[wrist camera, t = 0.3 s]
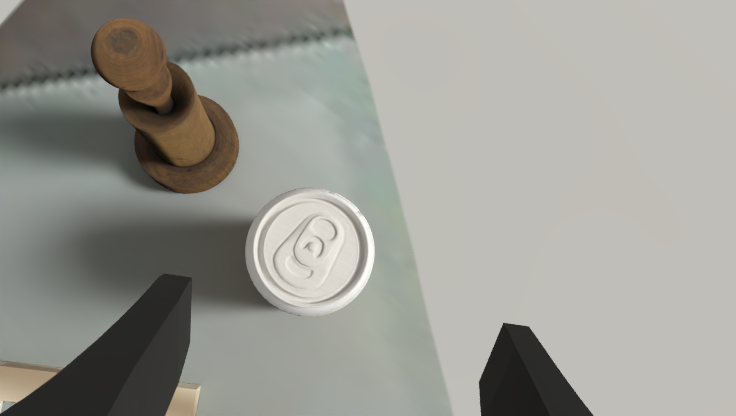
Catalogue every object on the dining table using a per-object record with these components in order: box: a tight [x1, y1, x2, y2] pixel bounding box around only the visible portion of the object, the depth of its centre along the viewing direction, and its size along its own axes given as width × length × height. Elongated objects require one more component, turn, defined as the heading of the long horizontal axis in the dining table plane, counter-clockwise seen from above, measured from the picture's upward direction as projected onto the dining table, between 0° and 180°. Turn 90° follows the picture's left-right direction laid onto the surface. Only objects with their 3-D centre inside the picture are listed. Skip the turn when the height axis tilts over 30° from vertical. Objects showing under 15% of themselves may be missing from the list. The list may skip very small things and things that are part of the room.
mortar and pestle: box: [91, 18, 239, 193], centre depth 34 cm, size 7×6×18 cm
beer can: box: [245, 188, 374, 316], centre depth 35 cm, size 6×6×15 cm
